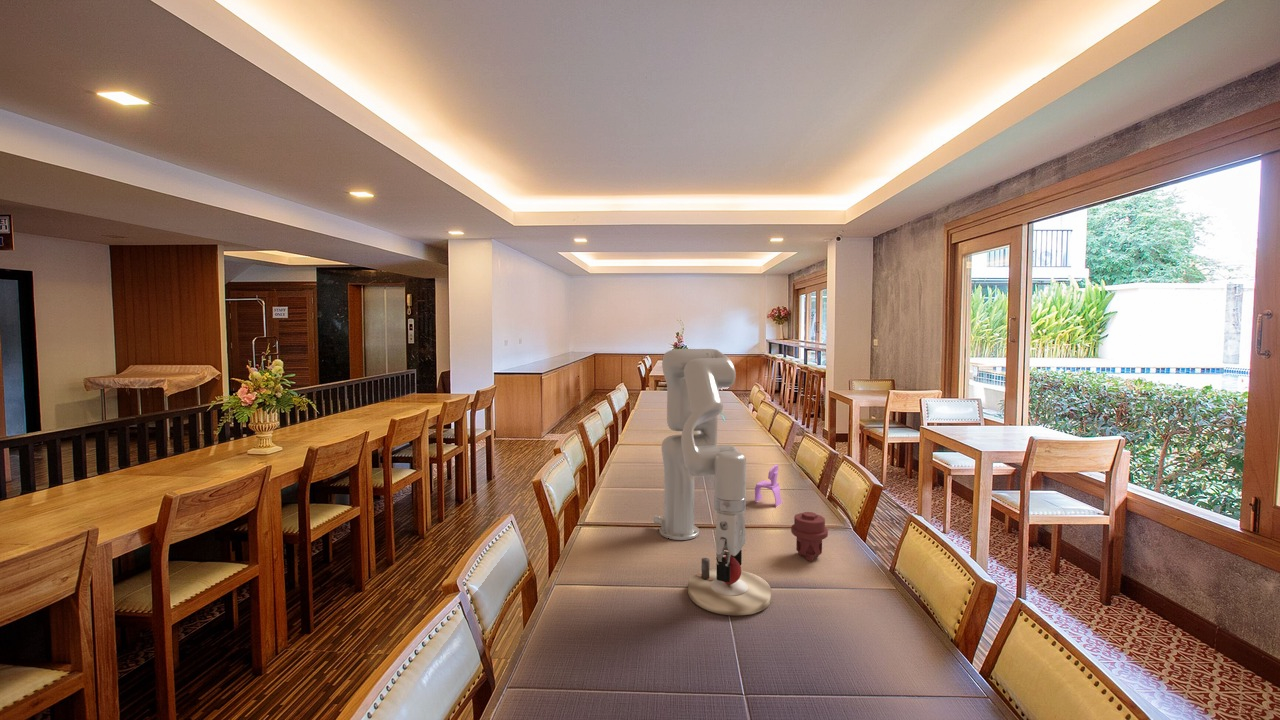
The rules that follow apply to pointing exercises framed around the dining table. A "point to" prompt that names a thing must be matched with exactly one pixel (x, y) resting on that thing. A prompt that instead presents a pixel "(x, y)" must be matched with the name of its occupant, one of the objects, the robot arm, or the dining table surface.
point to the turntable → (729, 592)
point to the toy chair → (770, 486)
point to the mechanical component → (809, 534)
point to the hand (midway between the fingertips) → (729, 572)
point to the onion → (734, 570)
